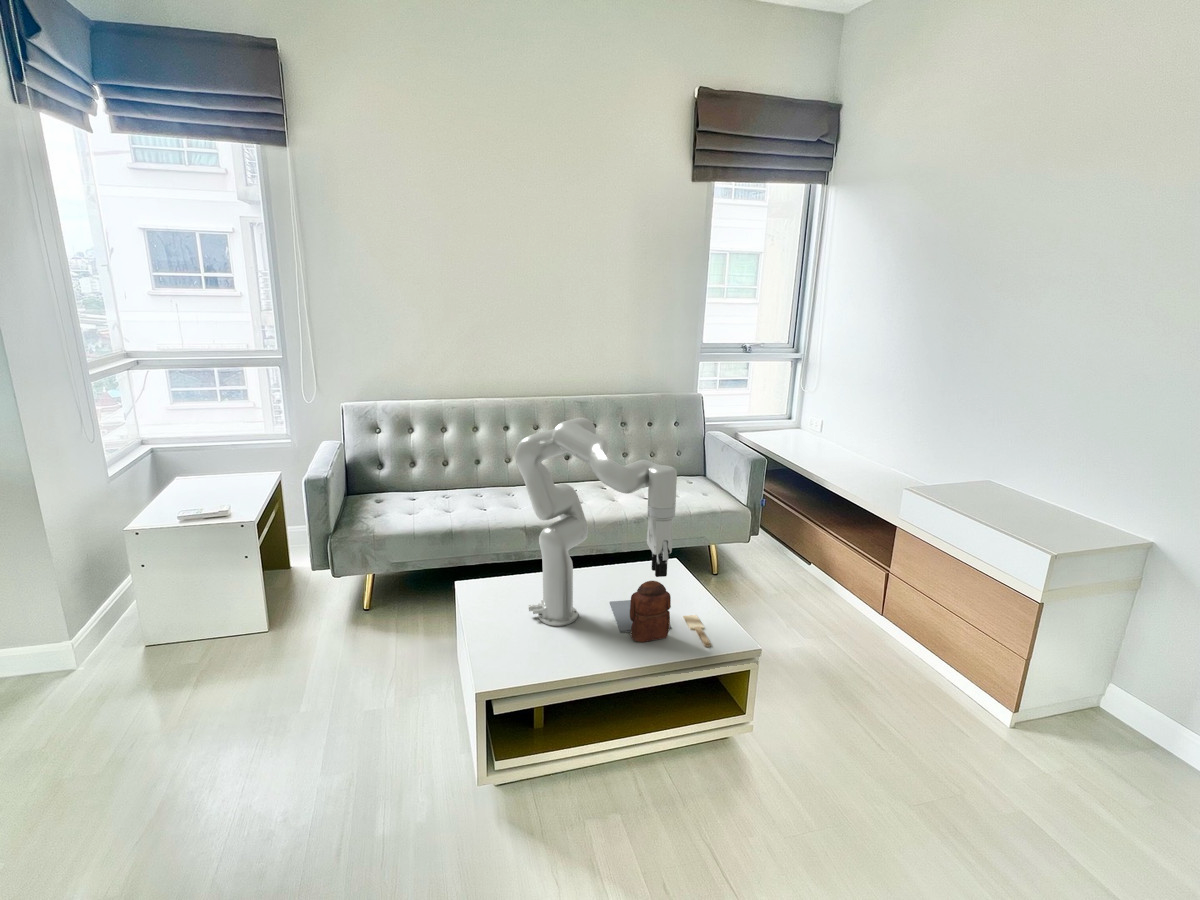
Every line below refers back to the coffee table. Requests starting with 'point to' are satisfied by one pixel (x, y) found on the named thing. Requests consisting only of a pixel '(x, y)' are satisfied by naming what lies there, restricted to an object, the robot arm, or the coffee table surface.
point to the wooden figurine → (650, 612)
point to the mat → (622, 615)
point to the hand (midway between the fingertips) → (659, 572)
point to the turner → (697, 628)
